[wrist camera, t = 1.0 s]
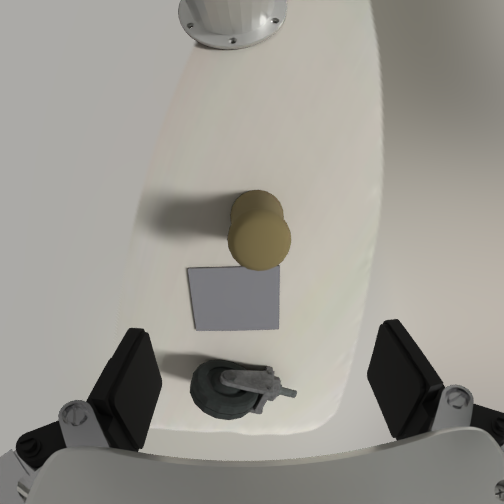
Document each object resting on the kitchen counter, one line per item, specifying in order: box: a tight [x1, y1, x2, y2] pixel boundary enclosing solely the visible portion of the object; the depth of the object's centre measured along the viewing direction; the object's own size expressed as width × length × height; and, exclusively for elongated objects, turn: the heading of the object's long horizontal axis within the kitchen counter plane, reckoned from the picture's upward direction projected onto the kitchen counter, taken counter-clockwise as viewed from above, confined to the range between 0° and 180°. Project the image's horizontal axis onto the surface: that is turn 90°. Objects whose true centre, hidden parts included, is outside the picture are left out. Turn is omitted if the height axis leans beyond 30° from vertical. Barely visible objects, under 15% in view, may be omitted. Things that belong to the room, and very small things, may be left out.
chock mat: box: [188, 265, 280, 331], centre depth 36 cm, size 9×11×1 cm
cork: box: [227, 190, 291, 271], centre depth 27 cm, size 6×6×11 cm
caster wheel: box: [190, 360, 297, 420], centre depth 36 cm, size 6×10×15 cm
